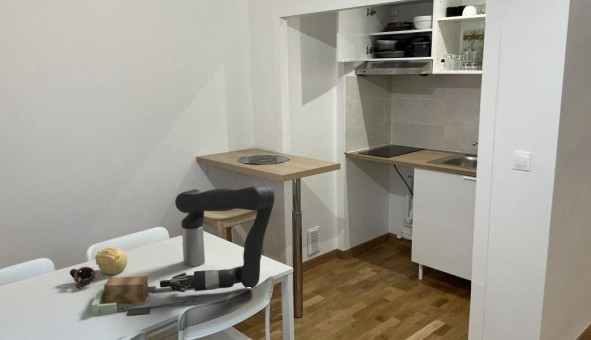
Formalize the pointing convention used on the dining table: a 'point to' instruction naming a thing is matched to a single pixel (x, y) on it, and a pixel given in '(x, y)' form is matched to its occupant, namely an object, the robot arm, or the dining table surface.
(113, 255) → the sculpture
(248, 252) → the robot arm
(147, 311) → the mats
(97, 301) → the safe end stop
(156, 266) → the dining table surface
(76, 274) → the pottery mug
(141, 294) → the walnut block
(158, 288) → the lane rails
